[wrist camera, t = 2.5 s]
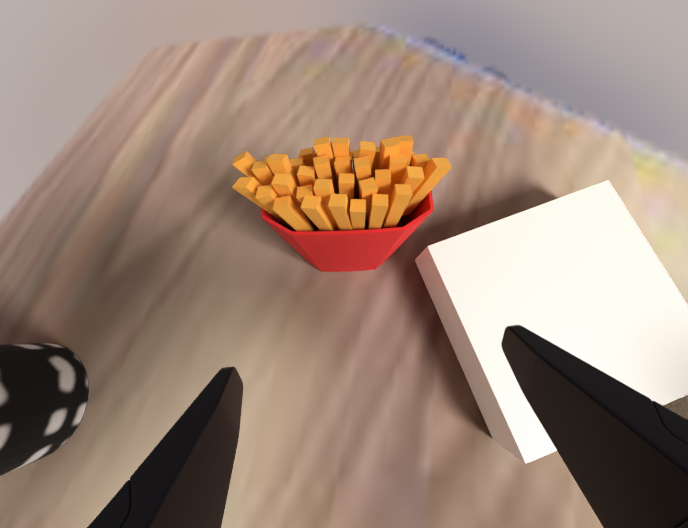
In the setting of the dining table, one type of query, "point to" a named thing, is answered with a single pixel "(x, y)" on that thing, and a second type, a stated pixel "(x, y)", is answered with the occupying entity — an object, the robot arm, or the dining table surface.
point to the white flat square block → (558, 305)
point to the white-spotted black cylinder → (38, 401)
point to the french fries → (344, 198)
